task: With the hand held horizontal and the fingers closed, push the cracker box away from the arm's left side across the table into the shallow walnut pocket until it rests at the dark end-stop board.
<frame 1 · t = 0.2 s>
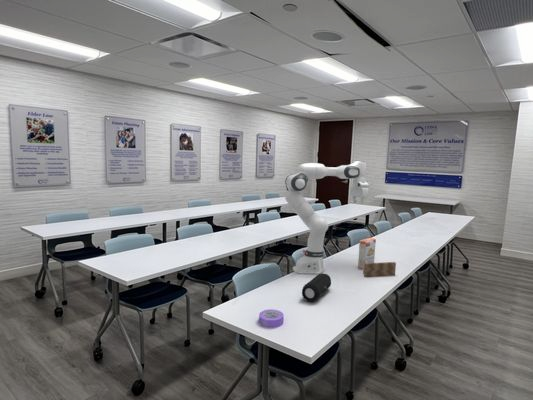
hand: (357, 203, 243), 48 cm above the table, tool pointing down, fingers open, 8 cm apart
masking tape: (271, 322, 163), on the table
portable speaker: (316, 295, 196), on the table
cracker box: (366, 267, 250), on the table
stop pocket: (379, 275, 231), on the table
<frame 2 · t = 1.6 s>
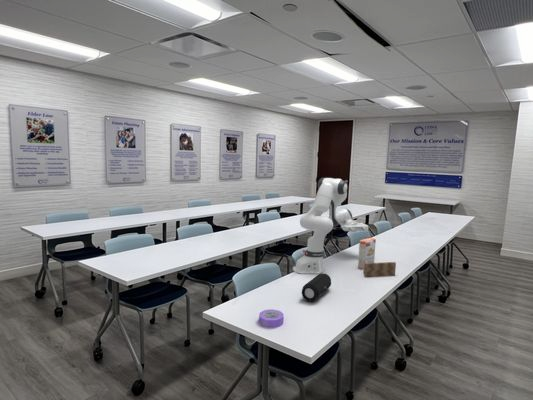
hand: (359, 229, 260), 25 cm above the table, tool horizontal, fingers open, 7 cm apart
nothing on the table moved.
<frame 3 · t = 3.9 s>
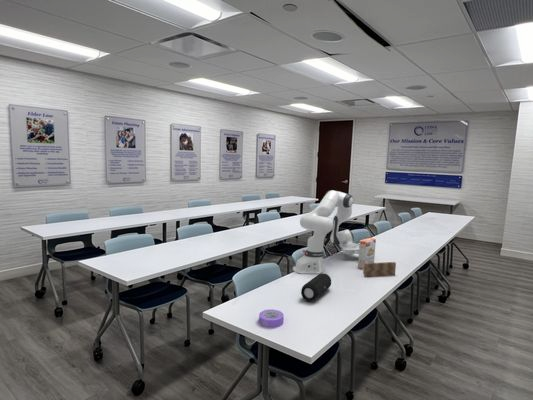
hand: (359, 253, 260), 8 cm above the table, tool horizontal, fingers closed
nothing on the table moved.
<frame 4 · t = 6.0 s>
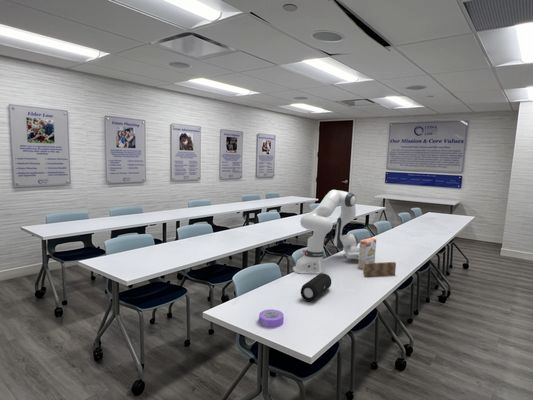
hand: (364, 257, 253), 6 cm above the table, tool horizontal, fingers closed
cracker box: (366, 267, 250), on the table, touching gripper
everything else where it was.
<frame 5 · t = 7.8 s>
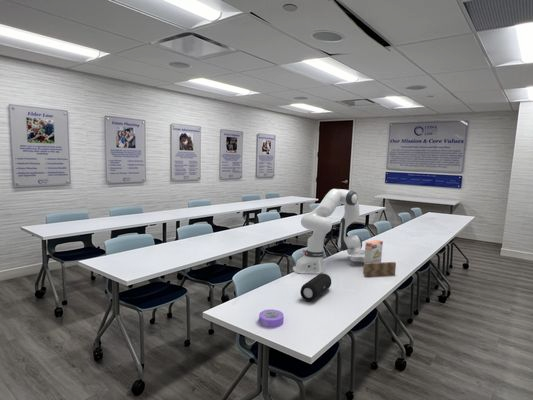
hand: (368, 260, 246), 6 cm above the table, tool horizontal, fingers closed
cracker box: (372, 270, 244), on the table, touching gripper
everything else where it was.
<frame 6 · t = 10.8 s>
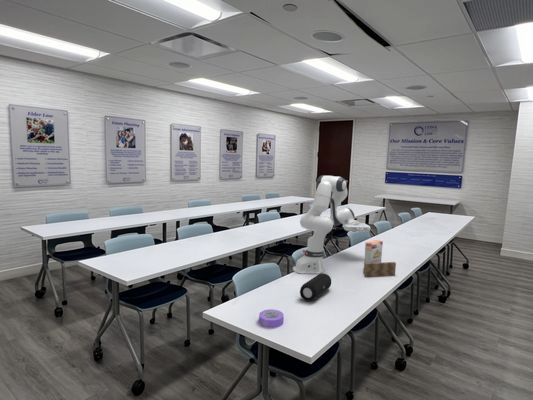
hand: (361, 230, 256), 26 cm above the table, tool horizontal, fingers closed
cracker box: (372, 270, 244), on the table
everything else where it was.
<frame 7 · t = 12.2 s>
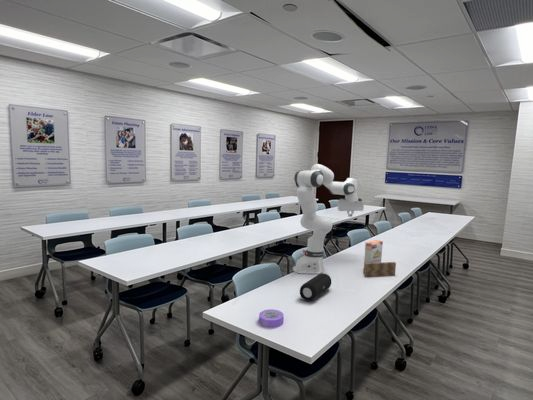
hand: (350, 216, 262), 35 cm above the table, tool pointing down, fingers closed
nothing on the table moved.
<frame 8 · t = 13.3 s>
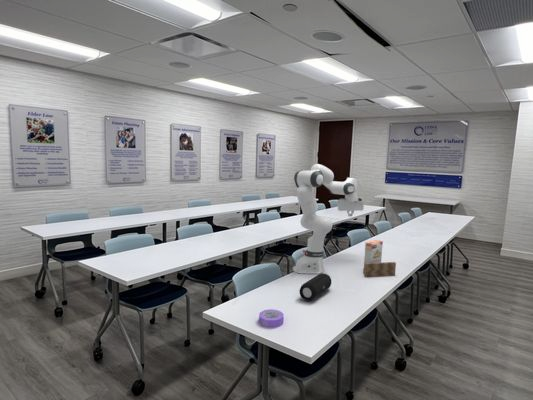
hand: (350, 216, 262), 35 cm above the table, tool pointing down, fingers closed
nothing on the table moved.
at the end: cracker box inside the target area (2.7 cm from its centre), on the table; cracker box tilted 0°; cracker box moved 6.7 cm from its start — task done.
